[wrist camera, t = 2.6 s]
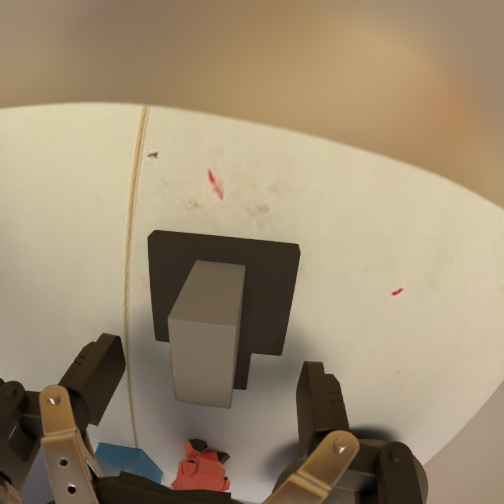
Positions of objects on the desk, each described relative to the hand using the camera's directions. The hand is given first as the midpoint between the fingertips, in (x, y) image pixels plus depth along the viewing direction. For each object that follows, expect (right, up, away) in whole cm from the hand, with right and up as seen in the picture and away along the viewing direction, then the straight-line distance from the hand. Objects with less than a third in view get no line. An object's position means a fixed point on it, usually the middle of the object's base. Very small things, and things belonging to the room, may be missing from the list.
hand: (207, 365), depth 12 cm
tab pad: (0, +1, +6) cm, 6 cm away
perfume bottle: (-13, -20, +16) cm, 29 cm away
